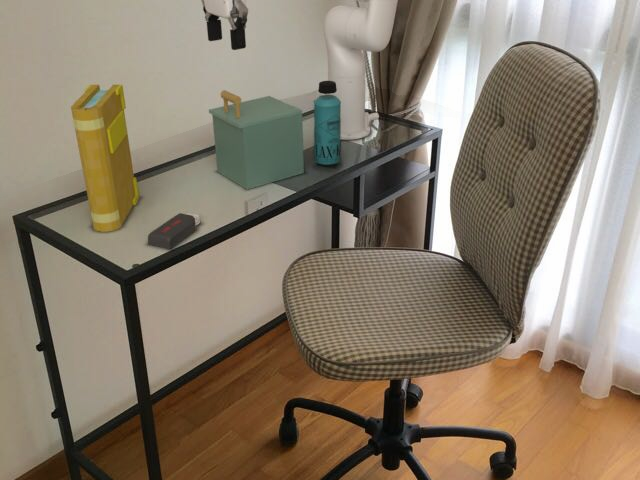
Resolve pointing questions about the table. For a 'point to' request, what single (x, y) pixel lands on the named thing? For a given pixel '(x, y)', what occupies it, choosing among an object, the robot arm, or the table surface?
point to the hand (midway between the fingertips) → (226, 44)
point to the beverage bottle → (327, 125)
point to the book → (105, 155)
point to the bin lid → (252, 110)
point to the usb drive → (174, 230)
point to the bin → (259, 150)
